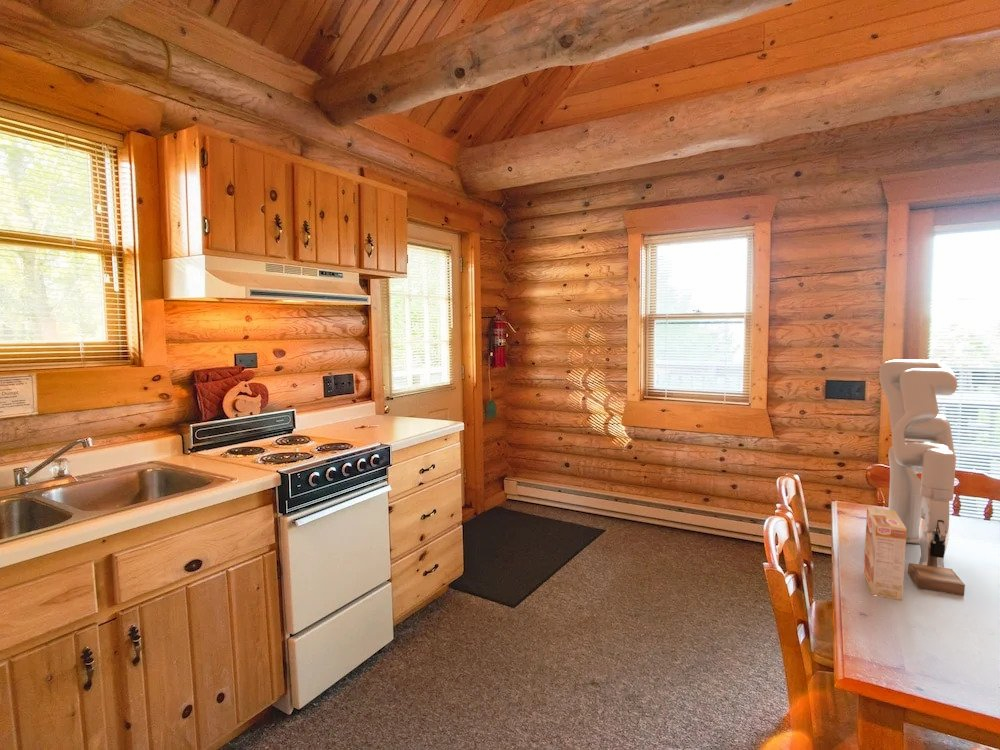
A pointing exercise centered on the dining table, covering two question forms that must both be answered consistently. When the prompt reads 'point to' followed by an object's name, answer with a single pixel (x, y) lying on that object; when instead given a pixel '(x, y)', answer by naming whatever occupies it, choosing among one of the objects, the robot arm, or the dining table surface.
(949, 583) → the oak board
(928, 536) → the beer glass
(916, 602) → the dining table surface
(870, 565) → the coffeecake box
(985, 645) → the dining table surface
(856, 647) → the dining table surface
